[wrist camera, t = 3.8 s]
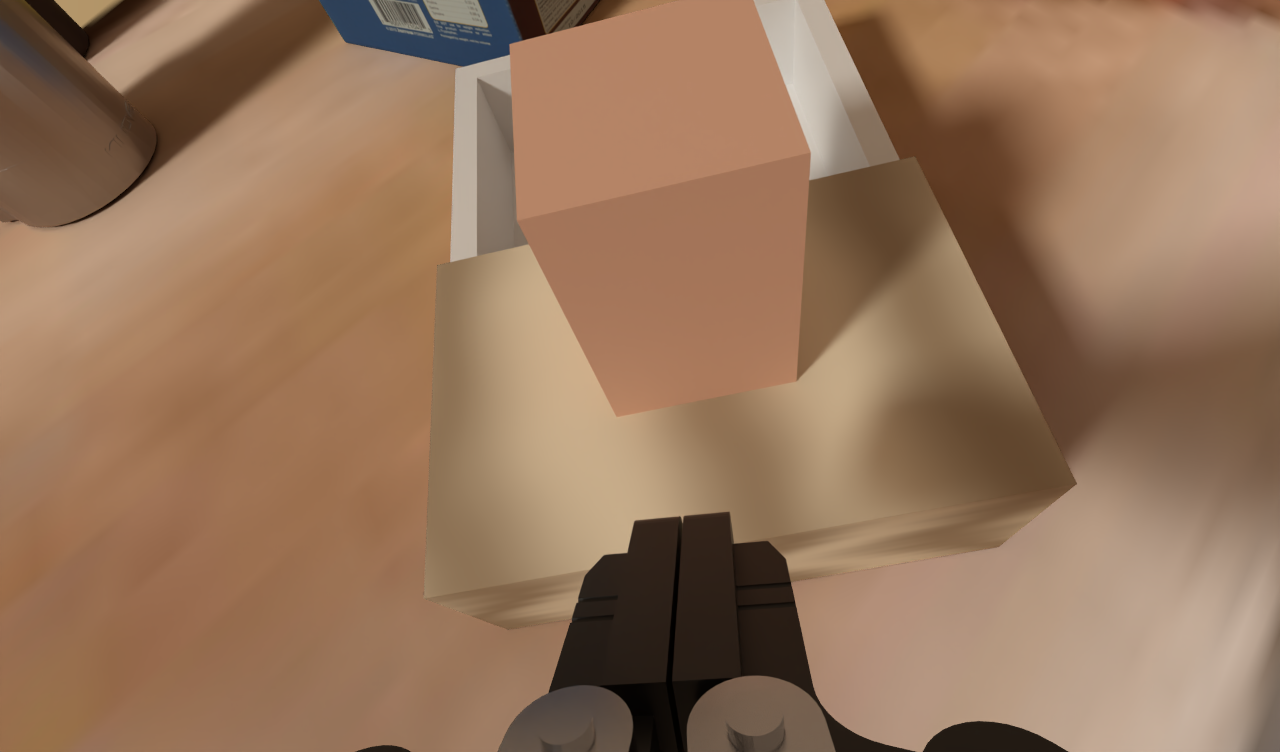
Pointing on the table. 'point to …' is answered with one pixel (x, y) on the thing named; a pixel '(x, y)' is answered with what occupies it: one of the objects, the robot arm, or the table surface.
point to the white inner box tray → (811, 72)
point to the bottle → (61, 23)
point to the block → (666, 198)
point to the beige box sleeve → (737, 421)
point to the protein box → (452, 25)
